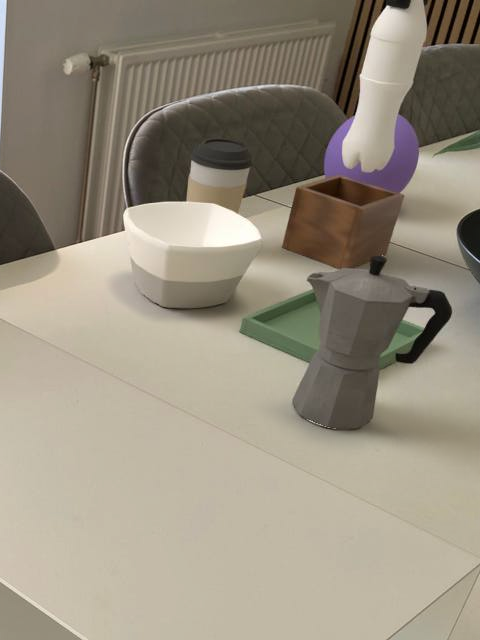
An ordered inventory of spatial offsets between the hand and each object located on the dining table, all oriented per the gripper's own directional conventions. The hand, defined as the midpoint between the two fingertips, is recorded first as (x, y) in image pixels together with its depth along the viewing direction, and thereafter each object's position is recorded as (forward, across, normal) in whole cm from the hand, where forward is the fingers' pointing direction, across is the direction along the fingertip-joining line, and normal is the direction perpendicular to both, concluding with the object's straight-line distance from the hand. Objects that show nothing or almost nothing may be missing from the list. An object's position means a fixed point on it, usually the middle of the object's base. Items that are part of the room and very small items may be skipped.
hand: (406, 3), depth 131 cm
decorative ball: (+34, +25, +12) cm, 44 cm away
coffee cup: (+33, -14, +15) cm, 39 cm away
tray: (+33, -26, -16) cm, 45 cm away
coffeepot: (+34, -42, -28) cm, 61 cm away
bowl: (+33, -31, +6) cm, 46 cm away
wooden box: (+33, +2, +2) cm, 34 cm away
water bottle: (+20, 0, 0) cm, 20 cm away
